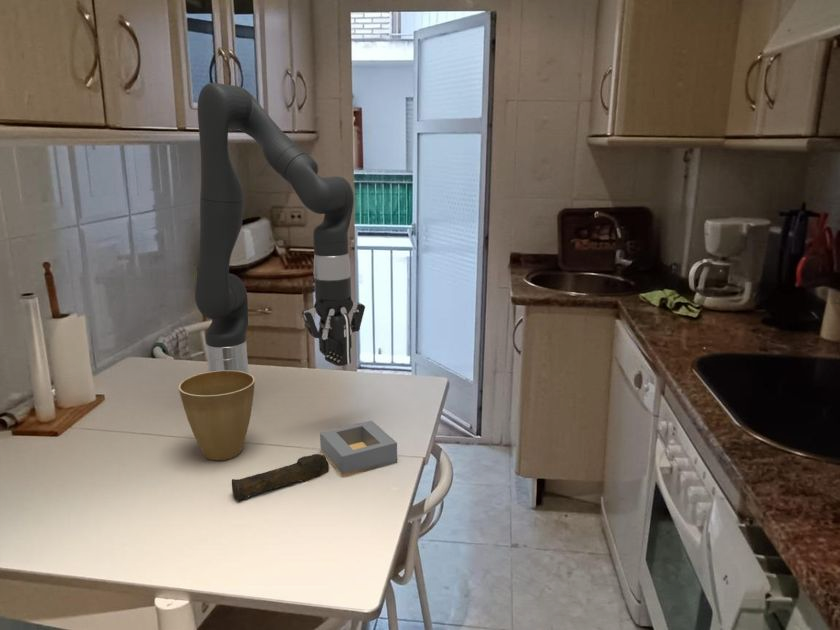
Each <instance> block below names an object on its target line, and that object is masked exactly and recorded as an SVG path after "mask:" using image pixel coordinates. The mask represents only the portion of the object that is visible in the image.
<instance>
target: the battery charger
mask: <svg viewBox="0 0 840 630" xmlns="http://www.w3.org/2000/svg"><path fill="white" fill-rule="evenodd" d="M323 323H324V324H325V321H323ZM350 324H351V320H350V317H349V314H348V315H347V314H341V313H336V314H334V316H333V317H331V322H330V329H329V332H328V337H327V339H328V346H329V355H328V356H324V360H325V361H327V362H328V363H330V364H333V365H335V366H336V367H341V366H342V367H343V366H349V365H351V364H352V357H351V356H352V354H351V349H350Z"/></svg>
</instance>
